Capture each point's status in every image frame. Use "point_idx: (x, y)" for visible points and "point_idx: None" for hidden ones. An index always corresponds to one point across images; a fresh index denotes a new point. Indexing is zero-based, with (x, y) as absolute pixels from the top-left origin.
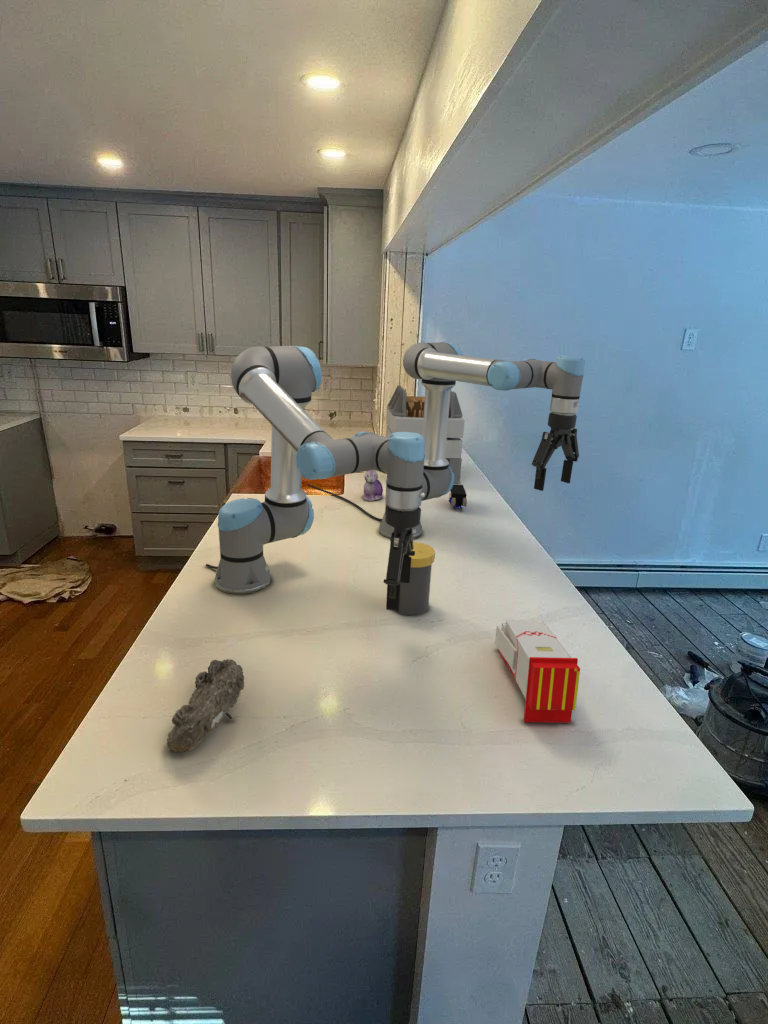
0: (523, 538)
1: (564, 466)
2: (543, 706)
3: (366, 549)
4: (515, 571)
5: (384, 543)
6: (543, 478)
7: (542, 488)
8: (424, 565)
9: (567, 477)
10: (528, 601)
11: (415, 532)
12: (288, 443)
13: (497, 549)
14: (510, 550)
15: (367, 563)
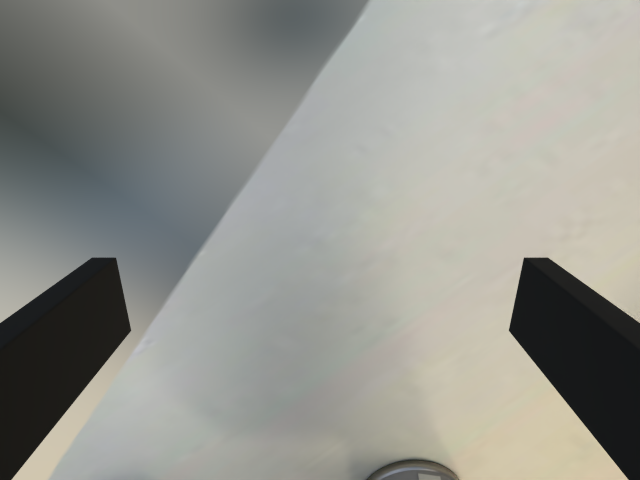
0: (160, 327)
1: (28, 433)
2: None
3: (548, 473)
4: (371, 205)
5: (490, 475)
6: (637, 324)
7: (557, 266)
8: None
9: (89, 302)
10: (516, 59)
11: (420, 475)
12: None
13: (290, 321)
14: (264, 298)
15: None
